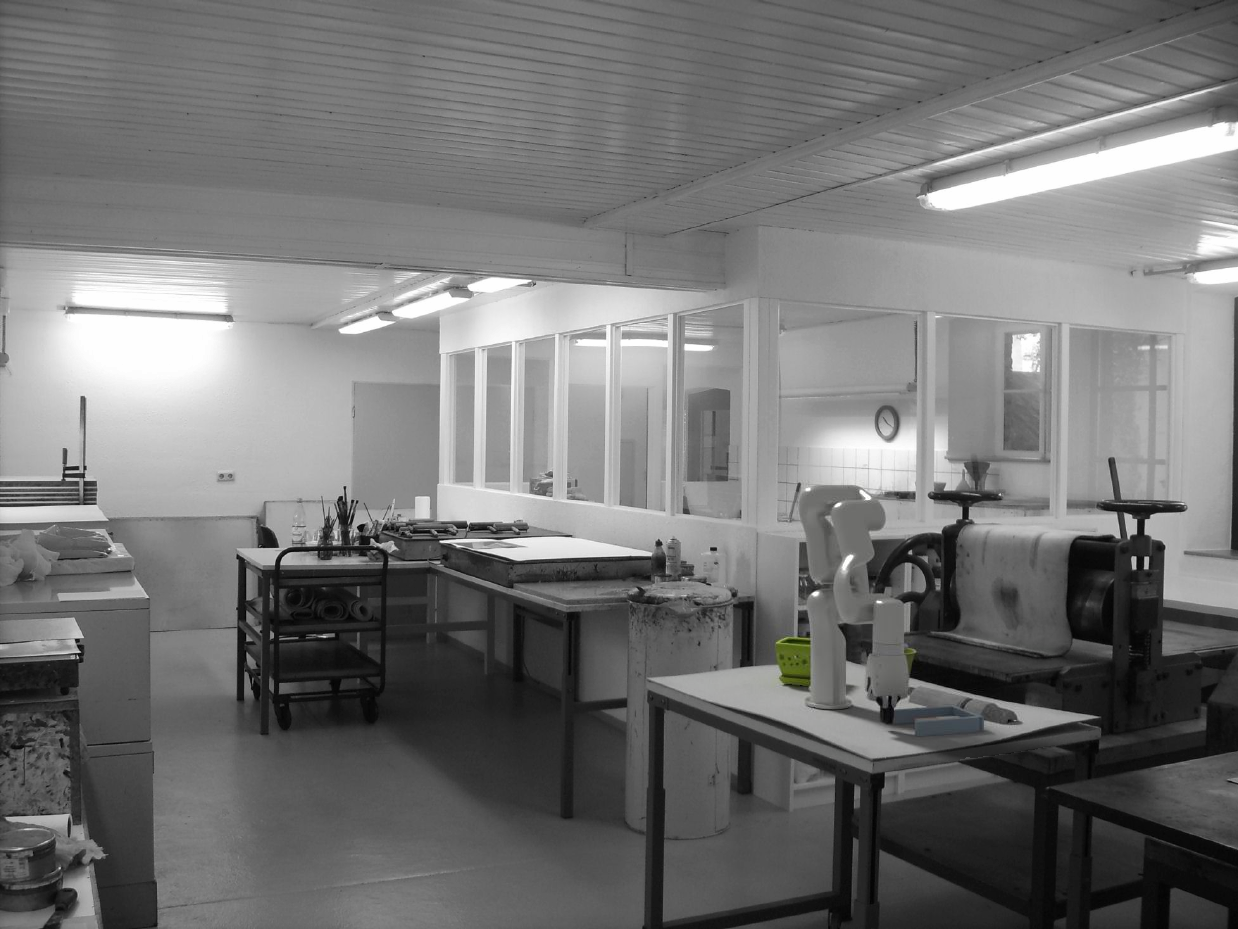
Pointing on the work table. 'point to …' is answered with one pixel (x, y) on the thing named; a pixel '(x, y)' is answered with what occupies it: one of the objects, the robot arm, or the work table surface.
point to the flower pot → (794, 660)
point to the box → (939, 720)
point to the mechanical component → (961, 704)
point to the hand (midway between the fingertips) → (886, 722)
